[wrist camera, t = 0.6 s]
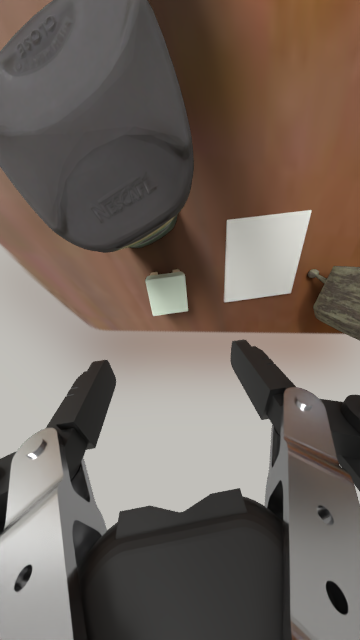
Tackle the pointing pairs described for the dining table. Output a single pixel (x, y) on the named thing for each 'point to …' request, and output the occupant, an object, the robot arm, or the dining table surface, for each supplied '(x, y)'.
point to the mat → (263, 254)
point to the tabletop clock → (339, 299)
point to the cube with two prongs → (167, 292)
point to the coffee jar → (95, 123)
